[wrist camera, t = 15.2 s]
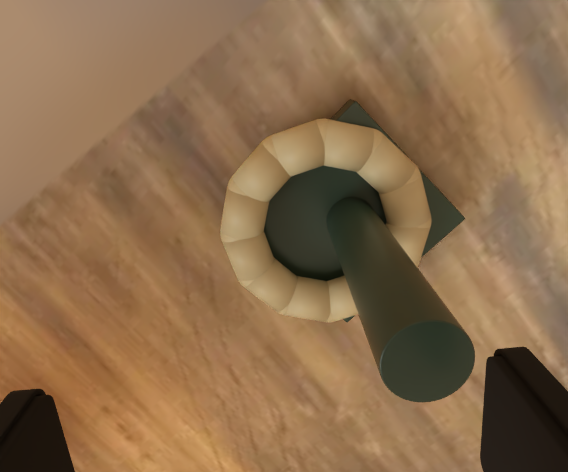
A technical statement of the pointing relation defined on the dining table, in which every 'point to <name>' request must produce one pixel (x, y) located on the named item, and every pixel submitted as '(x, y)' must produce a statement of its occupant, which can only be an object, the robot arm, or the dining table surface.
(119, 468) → the dining table surface
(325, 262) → the stand
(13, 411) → the robot arm
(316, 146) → the bracelet
